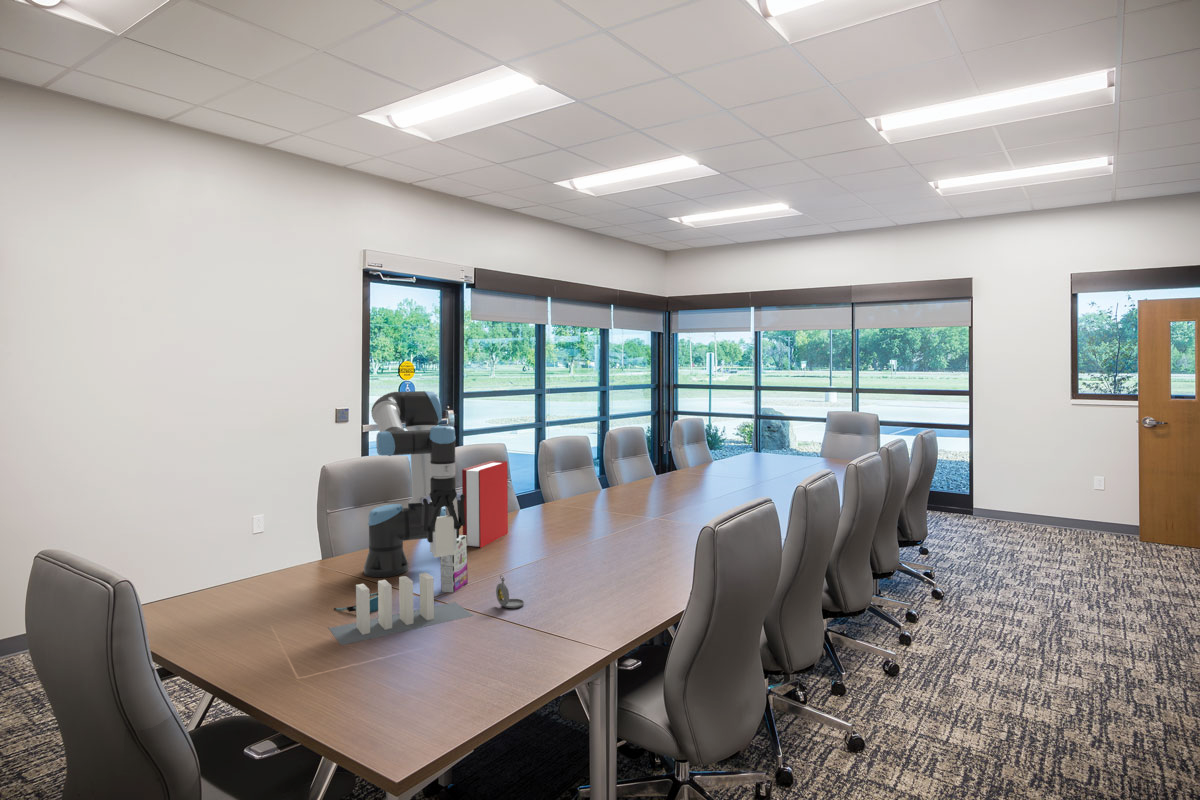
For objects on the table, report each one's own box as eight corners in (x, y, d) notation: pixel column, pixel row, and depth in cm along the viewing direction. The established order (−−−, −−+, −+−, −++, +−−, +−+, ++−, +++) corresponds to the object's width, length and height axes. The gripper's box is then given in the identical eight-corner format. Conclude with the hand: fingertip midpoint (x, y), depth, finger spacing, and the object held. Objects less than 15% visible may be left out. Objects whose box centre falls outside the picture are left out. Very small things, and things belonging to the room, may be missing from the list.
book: (480, 548, 268) (479, 469, 267) (462, 547, 270) (462, 469, 269) (509, 532, 294) (508, 461, 293) (492, 531, 296) (492, 460, 295)
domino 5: (435, 557, 202) (435, 518, 202) (433, 555, 204) (432, 517, 203) (454, 554, 206) (453, 516, 205) (451, 552, 207) (451, 515, 207)
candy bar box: (454, 582, 225) (453, 534, 224) (468, 583, 224) (467, 535, 223) (439, 592, 214) (439, 542, 213) (454, 593, 213) (453, 543, 212)
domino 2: (378, 622, 187) (377, 580, 187) (385, 621, 188) (385, 579, 188) (384, 629, 182) (384, 586, 182) (392, 628, 183) (391, 585, 183)
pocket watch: (527, 603, 204) (527, 571, 204) (515, 612, 196) (515, 579, 196) (503, 600, 207) (503, 568, 207) (490, 609, 199) (490, 576, 199)
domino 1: (356, 627, 184) (355, 584, 183) (364, 626, 185) (363, 583, 184) (362, 634, 179) (361, 590, 178) (370, 632, 180) (369, 589, 179)
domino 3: (399, 618, 191) (399, 577, 190) (406, 616, 192) (405, 576, 191) (406, 624, 186) (405, 582, 185) (413, 623, 187) (412, 581, 186)
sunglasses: (370, 617, 193) (368, 600, 193) (329, 618, 198) (327, 601, 198) (400, 602, 206) (398, 586, 206) (361, 602, 211) (359, 587, 211)
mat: (328, 629, 183) (328, 628, 183) (455, 603, 204) (455, 601, 204) (341, 646, 172) (341, 645, 172) (473, 616, 193) (473, 615, 193)
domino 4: (419, 614, 194) (419, 573, 193) (426, 612, 195) (426, 572, 195) (427, 620, 189) (426, 578, 189) (434, 618, 190) (433, 577, 190)
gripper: (416, 481, 195) (417, 558, 196) (476, 475, 206) (477, 548, 207) (408, 477, 201) (409, 552, 202) (466, 471, 212) (467, 543, 213)
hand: (443, 550), depth 205 cm, fingers closed on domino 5, 6 cm apart
